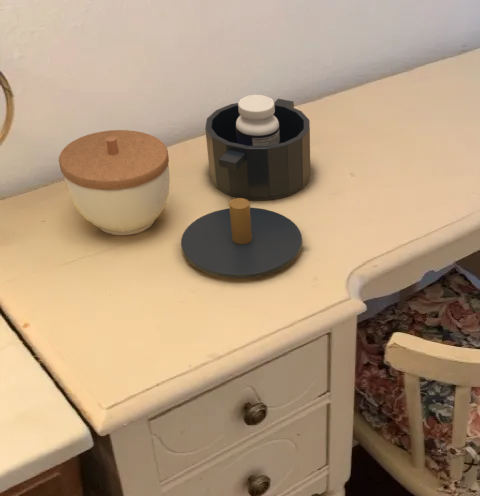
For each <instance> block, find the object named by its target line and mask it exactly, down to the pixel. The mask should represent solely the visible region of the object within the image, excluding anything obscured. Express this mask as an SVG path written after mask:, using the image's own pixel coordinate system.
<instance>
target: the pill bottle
mask: <svg viewBox="0 0 480 496" xmlns="http://www.w3.org/2000/svg"><path fill="white" fill-rule="evenodd" d="M274 102H275V101H274V100H273V99H272V98H271V97H269V96H267V95H263V94H250V95H246V96H243V97H241V98H240V99H239V101H238V102H237V103H238V110H239V114H240V116H239V117H238V119H237V121H236V133H237V144H242V145H247V146H268V145H274V144H279V143H280V135H279V122H278V120H277V118H276V117H275V116H274V115H273V114H274V113H275V106H274Z"/></svg>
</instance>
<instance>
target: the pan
mask: <svg viewBox="0 0 480 496" xmlns="http://www.w3.org/2000/svg"><path fill="white" fill-rule="evenodd" d="M274 106H275V113H274V114H273V115H274V116H275V117H276V118H277V120H278V122H279V135H280V143H279V144H274V145H268V146H247V145H242V144H237V133H236V121H237V119H238V117H239V116H240V114H239V110H238V102H235V103H231V104H228V105H225V106H223V107H221V108H218V109H216V110H215V111H213V112H212V113H211V114H210V115H209V116H208V117H207V118H206V121H205V128H204V130H205V138H206V139H205V140H206V150H207V157H208V169H209V175H210V176H209V177H210V179H211V182H212V183H213V185H214V186H215V187H216V188H217V189H218V190H219V191H221V192H222V193H224V194H226V195H228V196H230V197H232V198H235V199H236V198H244V199H247V200H248V201H272V200H274V201H275V200H280V199H284V198H287V197H290V196H292V195H294V194H296V193H298V192H300V191H302V190H303V189H304V188H305V187H306V186H307V185H308V183H309V181H310V178H311V133H310V132H311V127H310V126H311V123H310V122H311V121H310V119H309V118H308V117H307V116H306V114H305V113H303V111H302V110H299V109H297V108H295V102H294V101H293V100H288V99H283V98H277V99H276V100H275V101H274Z"/></svg>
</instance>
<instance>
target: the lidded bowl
mask: <svg viewBox="0 0 480 496" xmlns="http://www.w3.org/2000/svg"><path fill="white" fill-rule="evenodd" d="M169 162H170V159H169V150H168V148H167V146H166V145H165V143H164V142H163V141H161V140H160V139H159V138H157V137H156V136H154V135H152V134H150V133H145V132H143V131H136V130H128V129H114V130H113V129H112V130H110V129H109V130H103V131H97V132H93V133H90V134H86V135H83V136H81V137H79V138H76V139H75V140H72V141H71V142H69V143H68V144H66V146H65V147H64V148H63V149H62V150H61V152H60V154H59V156H58V165H59V168H60V172H61V174H62V175H63V180H64V183H65V188H66V190H67V192H68V193H67V194H68V195H69V197H70V199H71V201H72V203H73V205H74V208H76V210H77V212H79V214H80V215H81V216H82V218H84V219H85V220H86V221H88V222H89V223H91V224H92V225H94V226H96V227H98V229H99V230H100V231H102V232H103V233H106V234H108V235H112V236H133V235H136V234H140V233H142V232H145V231H147V230H148V229H149V228H151V227H152V226H153V225H154V223H155V222H156V220H157V219H158V218H159V216H160V215H161V214H162V213H163V211H164V210H165V207H166V205H167V203H168V200H169V195H170V188H171V175H170V166H169Z"/></svg>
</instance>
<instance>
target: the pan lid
mask: <svg viewBox="0 0 480 496" xmlns="http://www.w3.org/2000/svg"><path fill="white" fill-rule="evenodd" d="M228 207H229V208H224V209H223V208H222V209H219V210H215V211H211V212H210V213H206V214H204V215H202V216H200V217H199V218H196V220H194V221H192V222H191V223H190V224H189V225H188V226H187V227H186V229H185V230H184V232H183V234H182V236H181V240H180V241H181V243H180V246H181V251H182V254H183V256H184V258H185V259H186V260H187V262H188V263H190V264H191V266H193V267H195V268H196V269H198V270H200V271H202V272H204V273H206V274H209V275H212V276H215V277H221V278H227V279H251V278H258V277H263V276H268V275H271V274H273V273H276V272H279V271H281V270H283V269H284V268H286V267H287V266H289V265H290V264H292V263H293V262H295V260H296V259H297V258H298V256H299V255H300V253H301V250H302V248H303V236H302V232H301V230H300V229H299V227H298V226H297V225H296V223H295V222H294V221H293V220H292V219H290V218H288V217H287V216H285V215H283V214H280V213H278V212H276V211H273V210H270V209H265V208H260V207H259V208H258V207H251V204H250V200H247V199H244V198H236V197H235V198H233V199H230V200H229V203H228Z"/></svg>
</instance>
